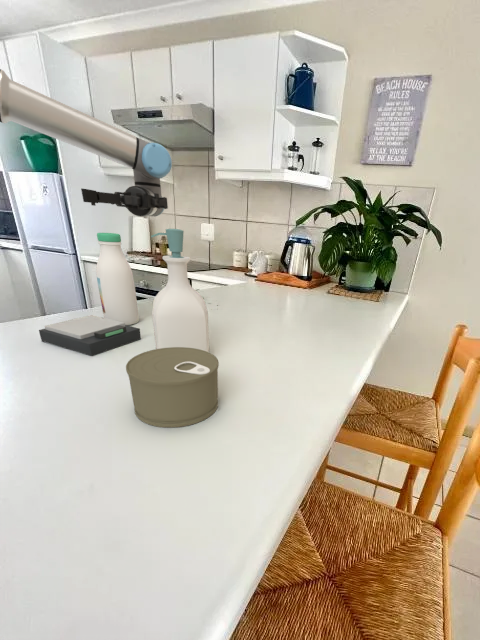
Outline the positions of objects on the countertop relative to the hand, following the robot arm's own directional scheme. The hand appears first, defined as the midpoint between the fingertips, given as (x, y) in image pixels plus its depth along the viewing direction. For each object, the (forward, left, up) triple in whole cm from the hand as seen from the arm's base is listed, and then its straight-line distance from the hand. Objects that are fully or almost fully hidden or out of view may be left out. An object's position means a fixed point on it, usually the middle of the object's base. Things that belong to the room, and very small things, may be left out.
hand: (115, 198), depth 75 cm
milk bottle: (+5, -8, -27) cm, 29 cm away
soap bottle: (+30, -16, -27) cm, 44 cm away
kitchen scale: (+10, -20, -27) cm, 35 cm away
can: (+42, -32, -27) cm, 60 cm away
